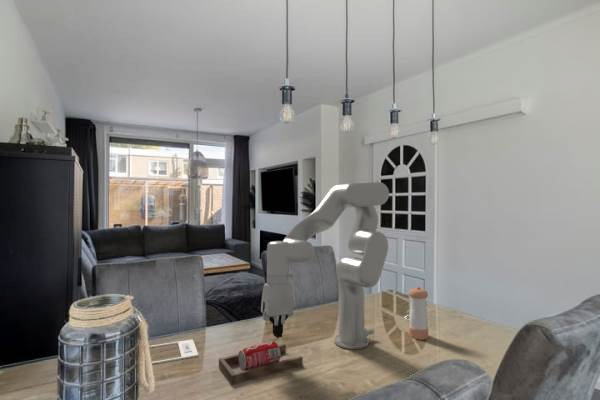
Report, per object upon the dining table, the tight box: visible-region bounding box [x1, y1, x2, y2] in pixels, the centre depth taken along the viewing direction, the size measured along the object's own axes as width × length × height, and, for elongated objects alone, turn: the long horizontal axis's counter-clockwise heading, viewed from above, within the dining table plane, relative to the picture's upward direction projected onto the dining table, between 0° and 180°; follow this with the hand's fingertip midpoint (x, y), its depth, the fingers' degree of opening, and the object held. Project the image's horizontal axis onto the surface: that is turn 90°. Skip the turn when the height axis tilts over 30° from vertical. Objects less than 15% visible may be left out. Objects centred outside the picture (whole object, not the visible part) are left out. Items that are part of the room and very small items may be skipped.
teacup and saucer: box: [403, 308, 411, 321], centre depth 152 cm, size 9×8×4 cm
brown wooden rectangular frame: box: [218, 343, 304, 385], centre depth 105 cm, size 23×12×2 cm, turn 121°
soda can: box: [238, 341, 282, 371], centre depth 104 cm, size 7×7×12 cm
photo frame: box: [149, 339, 199, 365], centre depth 115 cm, size 15×1×18 cm
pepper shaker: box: [408, 286, 429, 340], centre depth 131 cm, size 7×7×19 cm
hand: (277, 336), depth 109 cm, fingers closed
